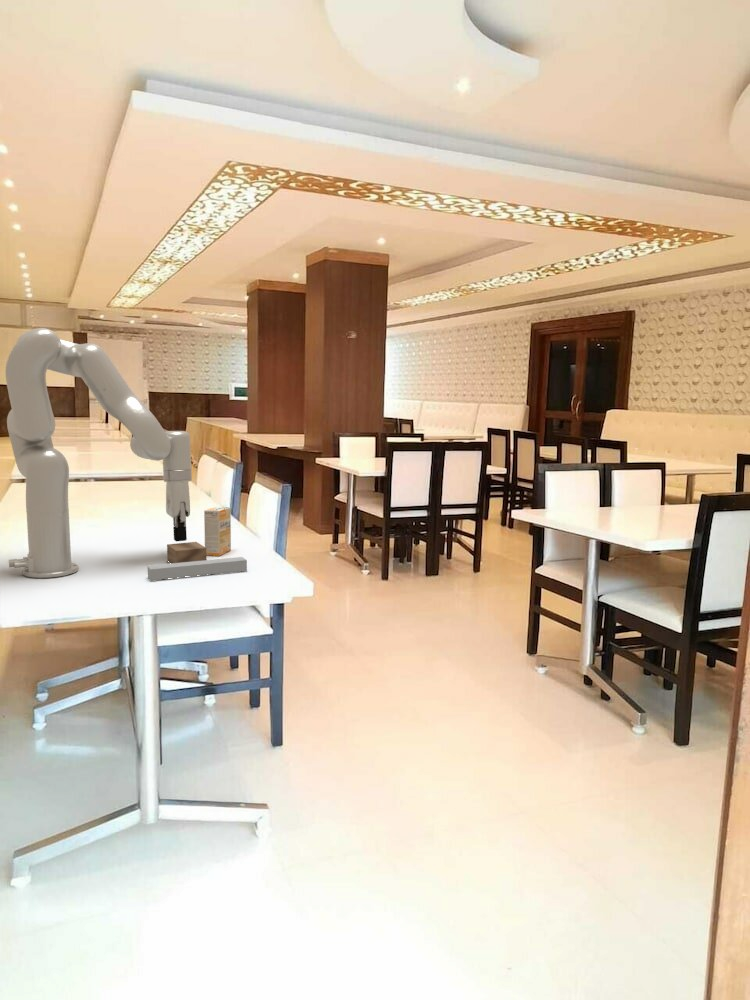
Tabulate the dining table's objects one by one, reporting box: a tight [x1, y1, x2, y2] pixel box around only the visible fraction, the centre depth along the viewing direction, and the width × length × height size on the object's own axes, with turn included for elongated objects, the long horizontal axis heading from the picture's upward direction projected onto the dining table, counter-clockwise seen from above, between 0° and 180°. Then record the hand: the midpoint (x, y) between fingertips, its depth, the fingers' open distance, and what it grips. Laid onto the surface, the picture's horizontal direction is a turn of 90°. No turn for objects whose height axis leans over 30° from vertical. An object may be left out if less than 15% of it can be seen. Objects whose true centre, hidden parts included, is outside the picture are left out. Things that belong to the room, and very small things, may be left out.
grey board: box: [147, 556, 248, 582], centre depth 173 cm, size 24×4×3 cm, turn 118°
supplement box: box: [203, 506, 232, 557], centre depth 197 cm, size 8×5×13 cm, turn 168°
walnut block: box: [166, 541, 208, 564], centre depth 185 cm, size 8×9×5 cm
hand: (180, 540), depth 193 cm, fingers closed
